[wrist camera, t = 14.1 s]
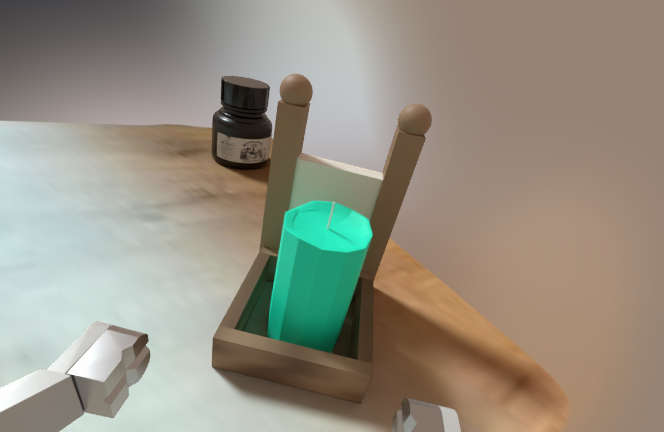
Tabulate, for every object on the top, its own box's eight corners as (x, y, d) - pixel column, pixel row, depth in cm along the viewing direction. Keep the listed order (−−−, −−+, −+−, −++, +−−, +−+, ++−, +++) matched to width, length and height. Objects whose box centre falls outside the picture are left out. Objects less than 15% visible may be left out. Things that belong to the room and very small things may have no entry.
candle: (323, 297, 30) (355, 181, 24) (350, 352, 26) (397, 227, 20) (259, 307, 28) (276, 180, 22) (276, 370, 23) (304, 232, 17)
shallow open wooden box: (211, 366, 22) (213, 337, 21) (259, 270, 31) (262, 245, 30) (360, 403, 22) (371, 377, 21) (365, 296, 31) (373, 273, 30)
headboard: (254, 270, 31) (278, 71, 22) (262, 256, 33) (286, 68, 24) (369, 299, 31) (439, 111, 22) (369, 282, 33) (433, 105, 24)
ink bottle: (216, 171, 47) (219, 85, 41) (202, 148, 53) (204, 70, 47) (278, 169, 52) (289, 93, 47) (259, 148, 59) (267, 78, 53)
